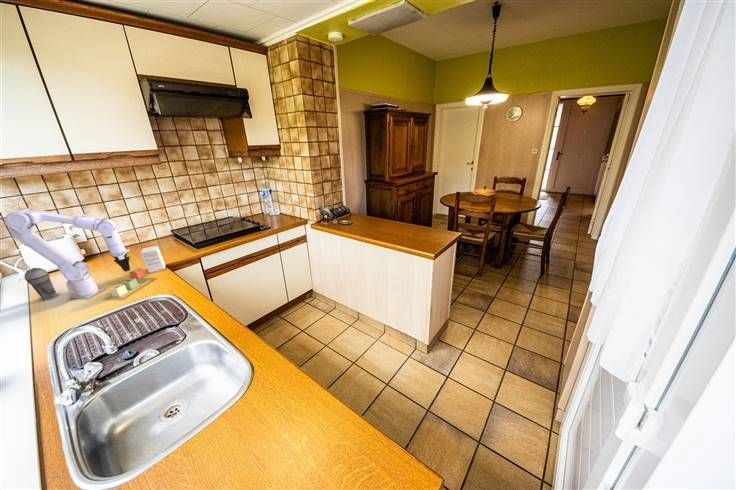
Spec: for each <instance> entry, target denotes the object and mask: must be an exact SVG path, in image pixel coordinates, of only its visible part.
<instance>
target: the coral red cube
mask: <svg viewBox="0 0 736 490" xmlns="http://www.w3.org/2000/svg"><path fill="white" fill-rule="evenodd" d="M128 273H129V275H130V278H136V279H141V278H142V277H144V276H145V275H146V274H145V271H144V269H143V268H135V269H133V270H130V271H128Z"/></svg>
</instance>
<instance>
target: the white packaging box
mask: <svg viewBox="0 0 736 490" xmlns="http://www.w3.org/2000/svg"><path fill="white" fill-rule="evenodd" d="M140 256H141V258H142V261H143V263H144V265H145V268H146V269H147V272H148V274H149V273H153V272H159V271H163V270H165V269H166V266H167V265H166V262H165V260H164V257H163V255H162V253H161V250H160V248H159V246H158V245H154V246H153V245H152V246H148V247H144V248H141V250H140Z"/></svg>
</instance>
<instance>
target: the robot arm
mask: <svg viewBox="0 0 736 490" xmlns="http://www.w3.org/2000/svg"><path fill="white" fill-rule="evenodd" d="M42 222H52V223H59V224H69V225H73V226H74V227H75V228H76V229H77V228H78V229H83V230H89V231H96V232H98V233H100V234H101V236H102V239H103V241H104V243H105V244H106V247H107V249H108V251H109V253H110V256H111V257H112V258H113V261H114V263H116V264H117V265H118V266H119V267H120V268H121V269H122V271H124V273H126V272H130V271H131V266H130V259H131V258H130V256H127V255H128V252H130V249H129V248H126V247H125V245H124V242H123V240H122V238H121V236H120V234H119V232H118V230H117V228H116V227H117V224H116V221H114V220H113V219H111V218H108V217H107V218H102V217H91V216H88V214H83V215H81V214H79V215H77V216H72V215H67V214H62V213H56V212H52V211H47V210H43V209H39V208H30V207H23V208H20V209H18V210H16V211H12V212H9V213H7V214H6V216H5V218H4V222H3V223H4V224H5V226H7V227H8V230H9V231H10V233H11V235H12V237H13V238H14V239H15V240H17V241H18V242H20V243H22V244H23V245H25V246H26V247H28V248H30V249H31V250H32V251H33V252H35V253H37V254H38V255H40V256H41V257H43V258H44V259H46V260H47V261H49V262H51V263H52V264H53V265H55V266H57V268H58V271H59V273H61V274H62V275H63V278H64V279H66V280H67V281H66V287H67V289H68V291H69V293H70V294H71V296H70V299H88V298H90V297H92V296H94V295H96V294H97V293H100V292H101V291H104V290H105V288H104V287H101V288H100V287H98V284H97V283H96V281H95V278H94V277H93V276H92V273H91V272H89V271H90V268H91V267H90V265H89V264H88V263H86V262H85V261H81V260H79V259H77V258H74V257H70V256H69V255H67V254H66V253H64V252H63V251H62V250H60V249H59V248H57V247H56V246H55V245H53V244H52V243H50V242H48V241H47V240H46V239H45V238H43V237H41V236H40V235H38V234H37V233H36V232H35V226H36V224H38V223H42Z"/></svg>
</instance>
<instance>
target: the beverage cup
mask: <svg viewBox="0 0 736 490" xmlns="http://www.w3.org/2000/svg"><path fill="white" fill-rule="evenodd" d="M22 263H23V264H24V265H25V266H26V268H27V269H28V270H26V272H25V273H24V279H25V281H26V282H27V283H28V284H29V285H30V286H31V287H32V288H33V290H35V291H36V293H37V294H38V296H39V297H40V298H41V299H43V301H46V300H47V301H48V300H52V299H53V298H55V297H57V296H58V295H57V292H56V289H55V287H54V285H53V282H52V281H51V278H50V274H49V272H48V271H47V270H46V269H44V268H41V267H33V268H31V267H30V266H29V265H28V264H27V263H26V261H25V260H22Z"/></svg>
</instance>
